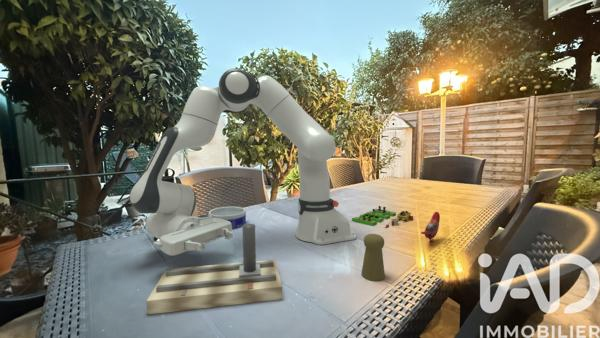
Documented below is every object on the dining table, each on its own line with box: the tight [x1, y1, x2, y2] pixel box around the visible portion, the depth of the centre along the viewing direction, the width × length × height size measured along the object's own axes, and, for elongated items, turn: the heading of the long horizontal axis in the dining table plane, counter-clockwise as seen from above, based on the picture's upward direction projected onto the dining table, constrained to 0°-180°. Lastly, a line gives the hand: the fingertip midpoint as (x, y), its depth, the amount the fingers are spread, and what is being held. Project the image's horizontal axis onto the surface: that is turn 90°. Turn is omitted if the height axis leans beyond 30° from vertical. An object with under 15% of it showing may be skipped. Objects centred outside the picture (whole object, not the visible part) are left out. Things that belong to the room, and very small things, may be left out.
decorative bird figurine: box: [421, 211, 441, 244], centre depth 93 cm, size 3×18×10 cm, turn 137°
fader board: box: [145, 259, 283, 315], centre depth 65 cm, size 28×14×4 cm, turn 101°
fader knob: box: [239, 223, 261, 278], centre depth 65 cm, size 5×5×12 cm
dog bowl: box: [208, 206, 247, 230], centre depth 115 cm, size 15×15×6 cm
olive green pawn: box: [360, 233, 386, 282], centre depth 71 cm, size 6×6×11 cm
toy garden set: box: [351, 205, 414, 229], centre depth 121 cm, size 23×19×5 cm
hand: (217, 241), depth 71 cm, fingers open, 8 cm apart
